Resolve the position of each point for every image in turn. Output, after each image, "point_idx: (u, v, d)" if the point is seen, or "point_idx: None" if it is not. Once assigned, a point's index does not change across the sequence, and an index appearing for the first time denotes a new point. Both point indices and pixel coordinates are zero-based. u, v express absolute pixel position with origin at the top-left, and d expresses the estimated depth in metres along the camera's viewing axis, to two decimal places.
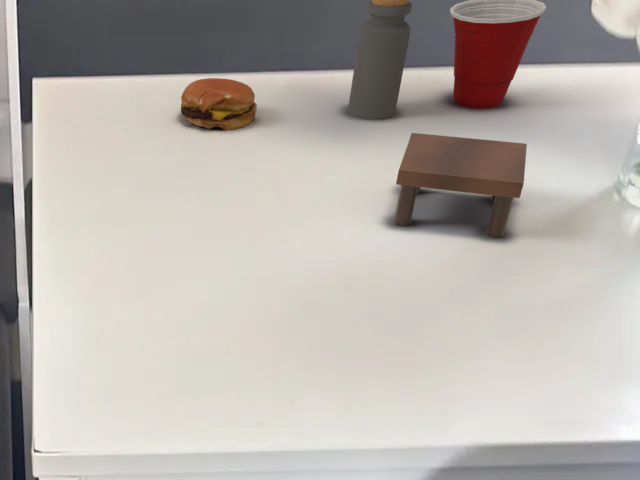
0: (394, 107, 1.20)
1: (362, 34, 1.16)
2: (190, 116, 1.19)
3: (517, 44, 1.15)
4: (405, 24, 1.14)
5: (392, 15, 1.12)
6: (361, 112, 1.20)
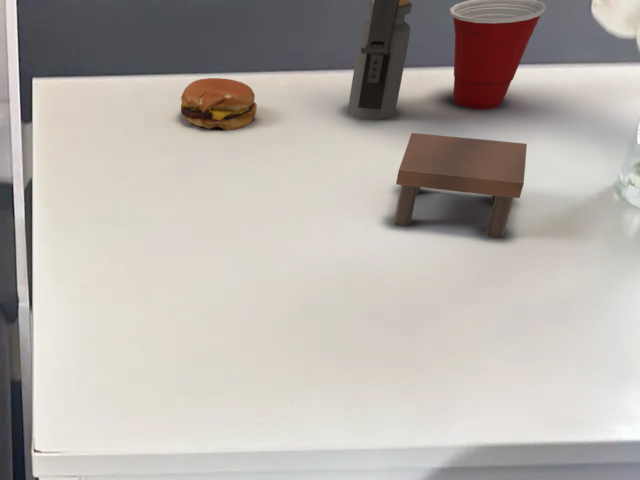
0: (394, 107, 1.20)
1: (362, 34, 1.16)
2: (190, 116, 1.19)
3: (517, 44, 1.15)
4: (405, 24, 1.14)
5: None
6: (361, 112, 1.20)
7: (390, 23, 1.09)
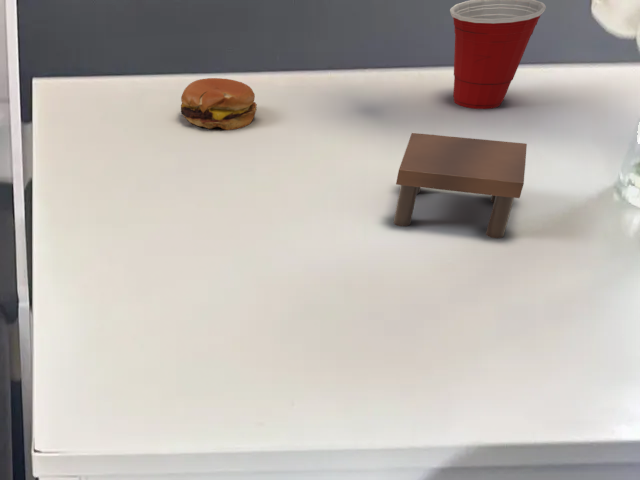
0: None
1: None
2: (190, 116, 1.19)
3: (517, 44, 1.15)
4: None
5: None
6: None
7: None
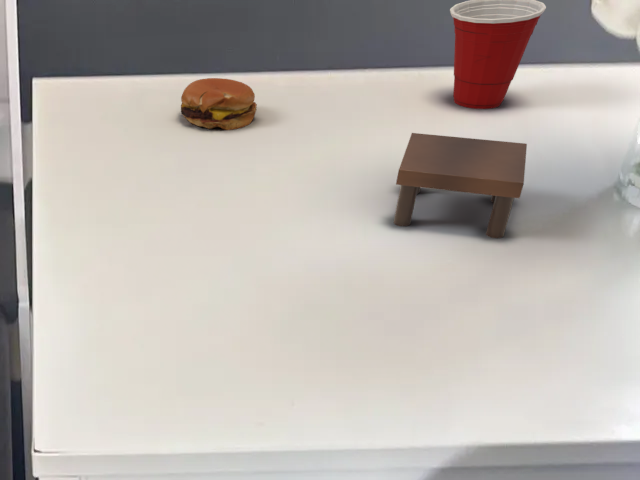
0: None
1: None
2: (190, 116, 1.19)
3: (517, 44, 1.15)
4: None
5: None
6: None
7: None
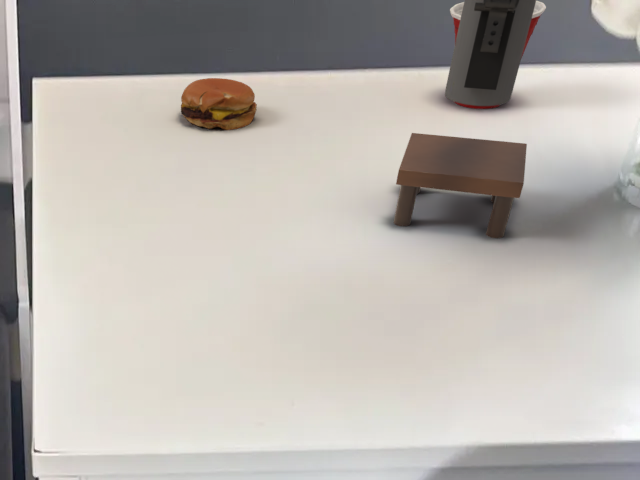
0: (512, 87, 0.87)
1: None
2: (190, 116, 1.19)
3: None
4: None
5: None
6: (466, 94, 0.87)
7: None
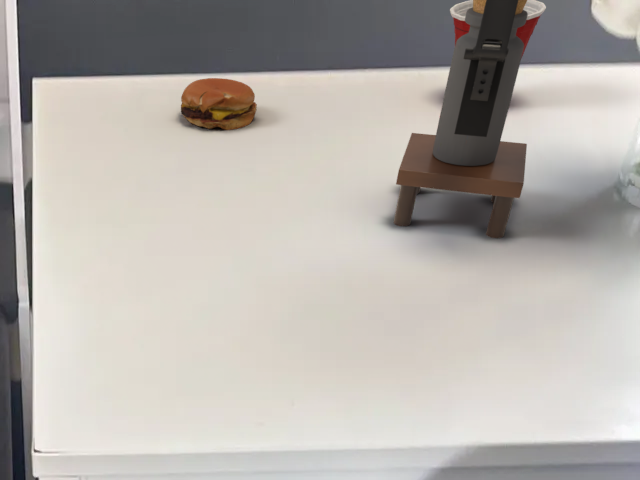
0: (497, 148, 0.91)
1: (458, 53, 0.87)
2: (190, 116, 1.19)
3: None
4: (517, 39, 0.85)
5: None
6: (453, 155, 0.91)
7: (512, 14, 0.77)
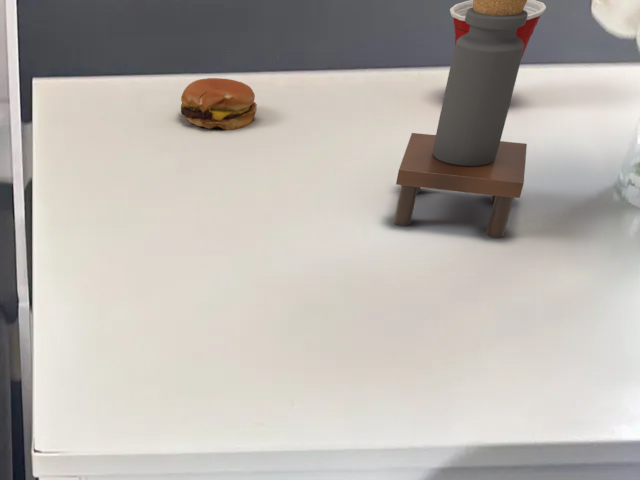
0: (497, 148, 0.91)
1: (458, 53, 0.87)
2: (190, 116, 1.19)
3: None
4: (517, 39, 0.85)
5: (503, 27, 0.84)
6: (453, 155, 0.91)
7: None
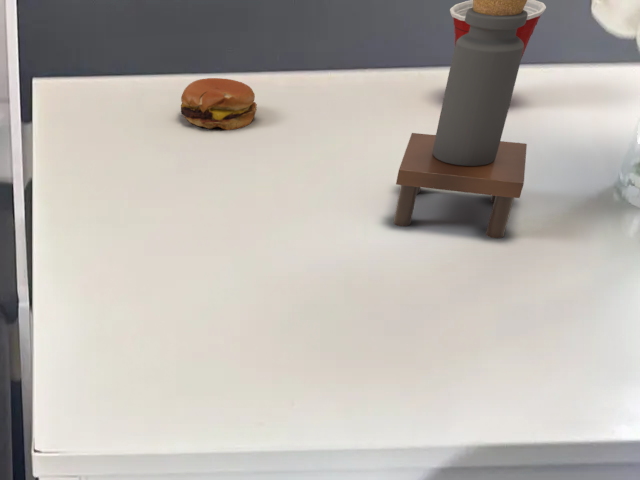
0: (497, 148, 0.91)
1: (458, 53, 0.87)
2: (190, 116, 1.19)
3: None
4: (517, 39, 0.85)
5: (503, 27, 0.84)
6: (453, 155, 0.91)
7: None
